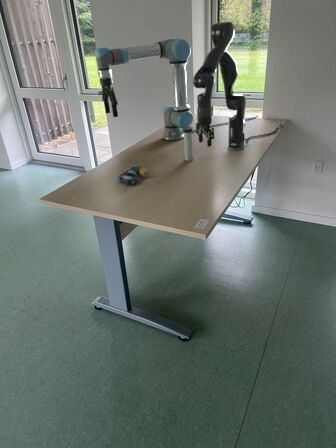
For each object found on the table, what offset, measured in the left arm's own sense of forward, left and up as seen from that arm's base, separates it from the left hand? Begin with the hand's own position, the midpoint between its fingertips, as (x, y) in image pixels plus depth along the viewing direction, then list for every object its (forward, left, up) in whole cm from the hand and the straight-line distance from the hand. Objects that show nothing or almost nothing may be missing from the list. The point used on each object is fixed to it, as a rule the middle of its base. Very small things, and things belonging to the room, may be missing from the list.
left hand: (111, 114), depth 206 cm
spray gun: (+5, +38, -28) cm, 47 cm away
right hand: (-33, +53, -13) cm, 64 cm away
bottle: (-34, +32, -28) cm, 55 cm away
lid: (-34, +32, -9) cm, 48 cm away
